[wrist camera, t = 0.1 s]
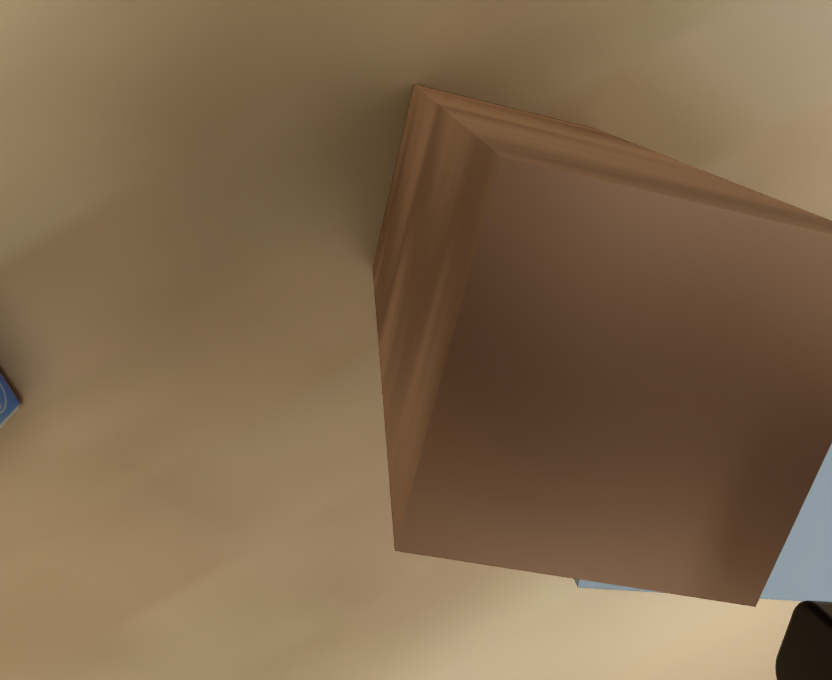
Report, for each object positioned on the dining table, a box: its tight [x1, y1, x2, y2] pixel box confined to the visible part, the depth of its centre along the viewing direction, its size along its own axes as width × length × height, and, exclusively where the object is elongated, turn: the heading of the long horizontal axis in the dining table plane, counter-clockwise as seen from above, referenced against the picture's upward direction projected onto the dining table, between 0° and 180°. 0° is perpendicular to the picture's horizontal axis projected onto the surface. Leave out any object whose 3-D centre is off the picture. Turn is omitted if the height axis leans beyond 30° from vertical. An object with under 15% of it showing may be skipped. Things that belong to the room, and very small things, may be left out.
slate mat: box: [575, 444, 832, 602], centre depth 25 cm, size 12×12×1 cm
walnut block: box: [373, 84, 832, 607], centre depth 16 cm, size 5×5×13 cm
